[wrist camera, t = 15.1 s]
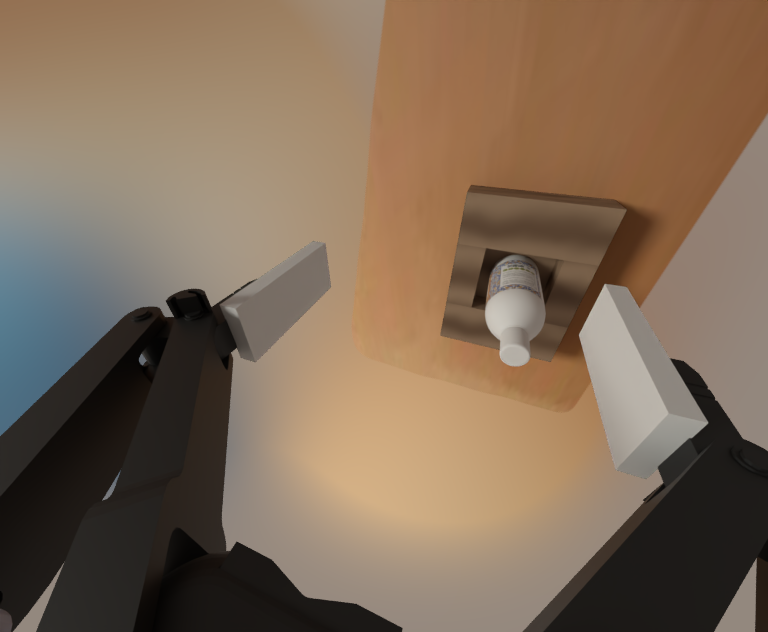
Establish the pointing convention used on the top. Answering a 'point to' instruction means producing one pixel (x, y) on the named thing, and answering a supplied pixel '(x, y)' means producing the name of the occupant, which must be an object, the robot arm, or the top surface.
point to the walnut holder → (533, 240)
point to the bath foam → (515, 307)
